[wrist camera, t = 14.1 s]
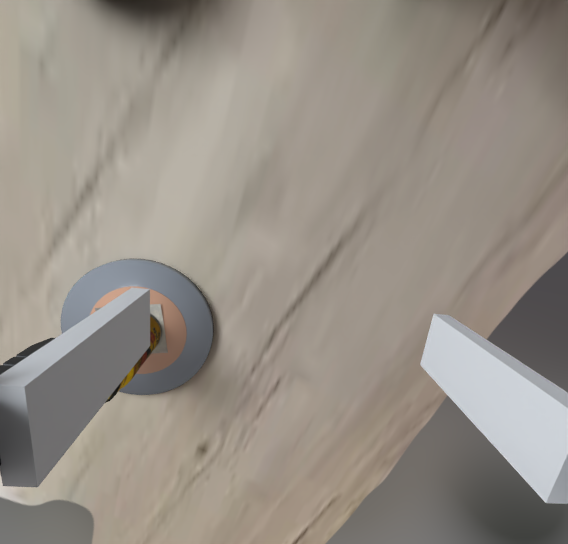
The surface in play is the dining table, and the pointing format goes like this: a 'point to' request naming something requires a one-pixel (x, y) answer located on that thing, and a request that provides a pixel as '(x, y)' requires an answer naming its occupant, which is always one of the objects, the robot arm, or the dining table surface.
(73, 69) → the dining table surface
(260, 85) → the dining table surface
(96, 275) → the ring stand
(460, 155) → the dining table surface
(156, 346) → the condiment
